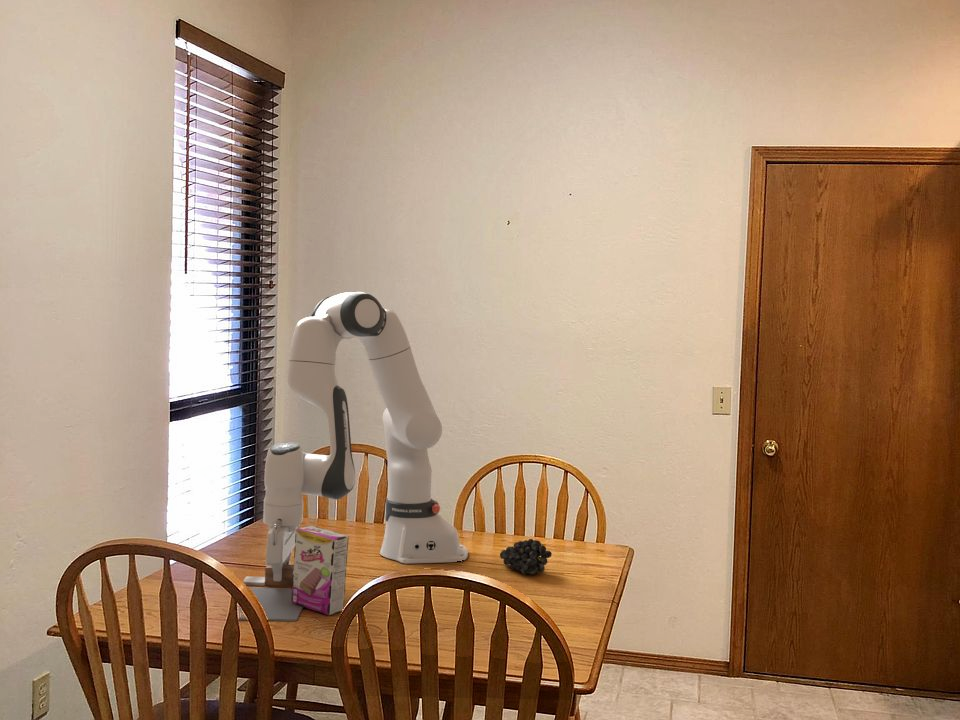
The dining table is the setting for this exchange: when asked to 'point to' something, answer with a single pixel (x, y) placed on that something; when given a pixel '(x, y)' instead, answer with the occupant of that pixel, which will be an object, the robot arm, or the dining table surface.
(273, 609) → the mat
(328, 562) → the candy bar box
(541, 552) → the fruit
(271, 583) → the block
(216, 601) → the dining table surface
